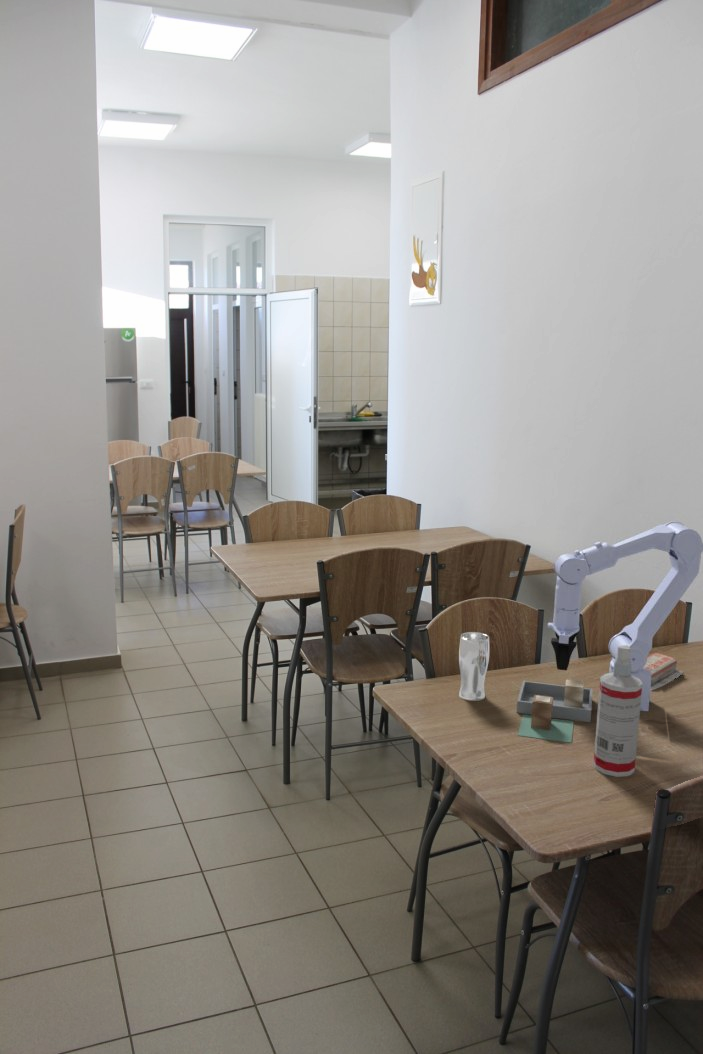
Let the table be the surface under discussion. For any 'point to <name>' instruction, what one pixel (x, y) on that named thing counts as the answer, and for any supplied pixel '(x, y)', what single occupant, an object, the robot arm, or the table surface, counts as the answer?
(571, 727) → the mat
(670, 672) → the packaged product
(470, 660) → the beer glass
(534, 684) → the tray
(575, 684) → the birch block
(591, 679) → the table surface
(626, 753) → the spray bottle
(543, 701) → the walnut block
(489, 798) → the table surface
